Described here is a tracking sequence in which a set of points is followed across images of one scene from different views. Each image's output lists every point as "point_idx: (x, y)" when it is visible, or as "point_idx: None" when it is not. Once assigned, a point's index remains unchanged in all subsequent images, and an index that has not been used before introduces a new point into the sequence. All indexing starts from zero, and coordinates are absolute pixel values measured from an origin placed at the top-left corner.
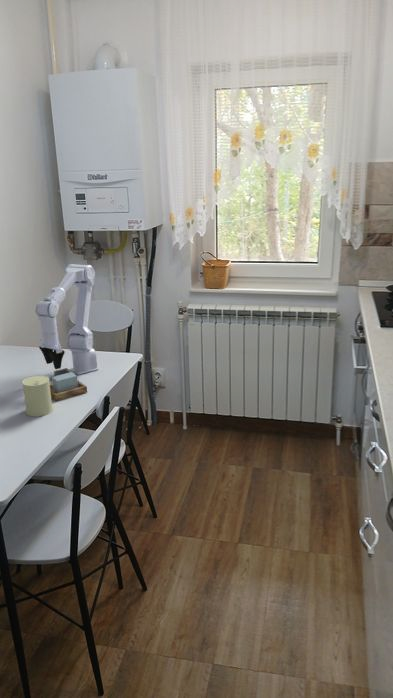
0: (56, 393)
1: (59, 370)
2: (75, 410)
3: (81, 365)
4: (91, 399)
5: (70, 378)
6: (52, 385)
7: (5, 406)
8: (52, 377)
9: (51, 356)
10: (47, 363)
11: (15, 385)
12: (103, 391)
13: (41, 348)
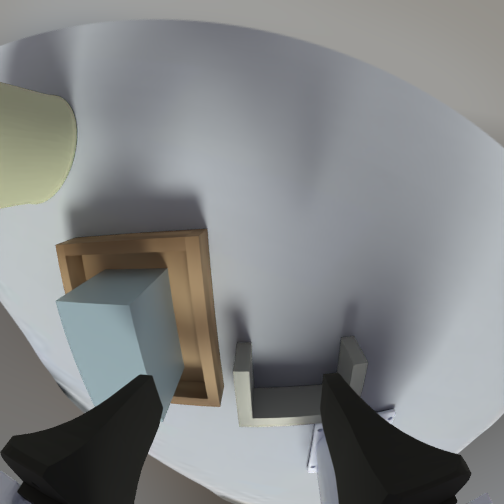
0: (126, 270)
1: (352, 387)
2: (2, 267)
3: (325, 461)
4: (53, 351)
5: (84, 375)
6: (191, 286)
7: (162, 19)
8: (121, 307)
9: (43, 441)
10: (324, 377)
11: (410, 132)
12: None
13: (387, 500)
